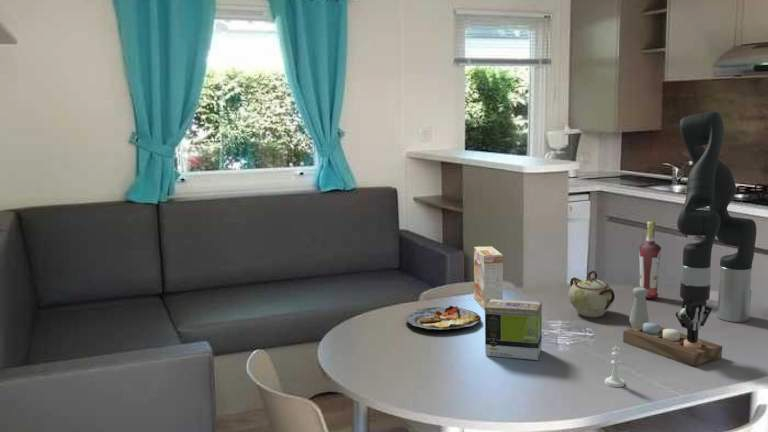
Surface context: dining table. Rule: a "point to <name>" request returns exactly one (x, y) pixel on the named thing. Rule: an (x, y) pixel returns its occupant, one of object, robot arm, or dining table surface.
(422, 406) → the dining table surface
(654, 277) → the liquor
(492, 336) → the tea box
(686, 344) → the terracotta button
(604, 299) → the sugar bowl
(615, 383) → the chess piece
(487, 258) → the coffeecake box
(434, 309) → the food plate
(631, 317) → the salt shaker
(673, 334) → the cream button
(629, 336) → the wooden slotted tray
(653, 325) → the slate button
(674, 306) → the dining table surface
